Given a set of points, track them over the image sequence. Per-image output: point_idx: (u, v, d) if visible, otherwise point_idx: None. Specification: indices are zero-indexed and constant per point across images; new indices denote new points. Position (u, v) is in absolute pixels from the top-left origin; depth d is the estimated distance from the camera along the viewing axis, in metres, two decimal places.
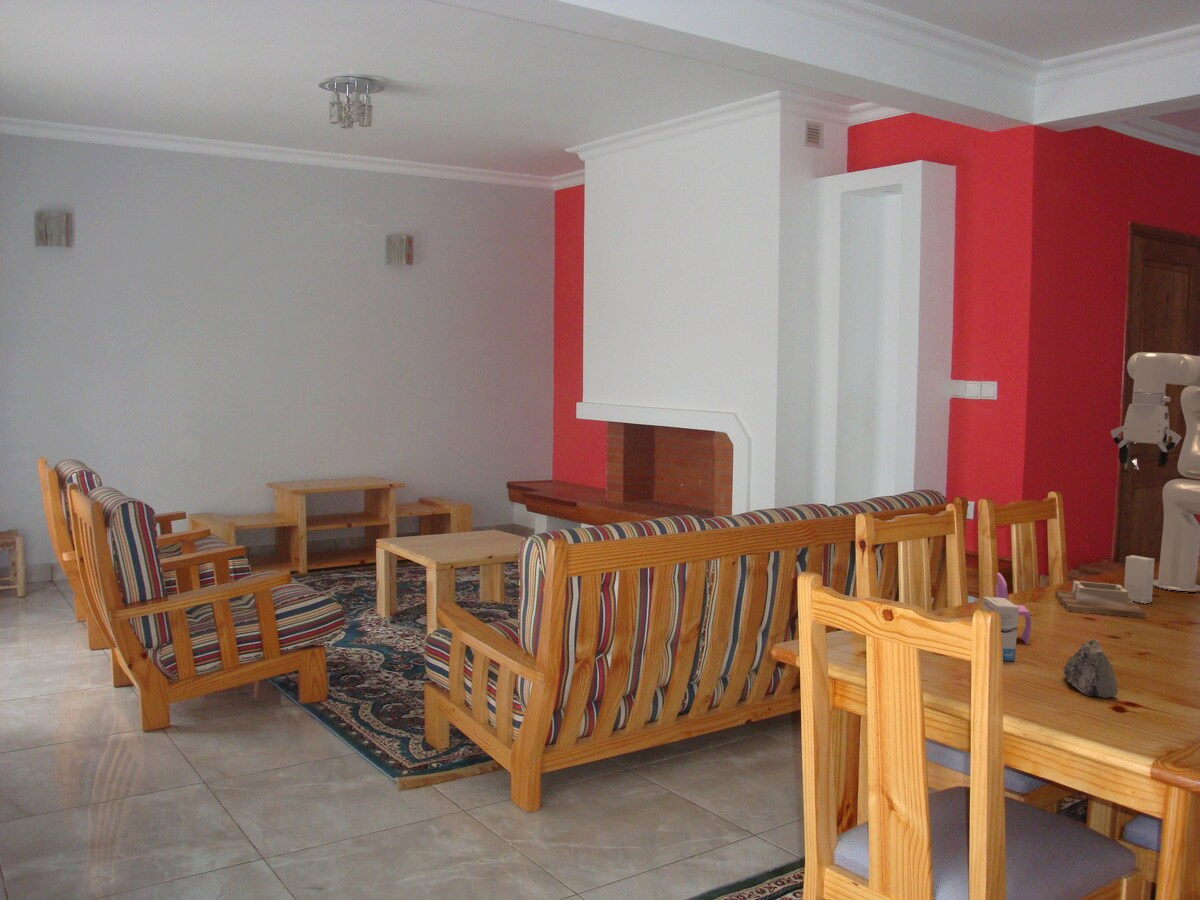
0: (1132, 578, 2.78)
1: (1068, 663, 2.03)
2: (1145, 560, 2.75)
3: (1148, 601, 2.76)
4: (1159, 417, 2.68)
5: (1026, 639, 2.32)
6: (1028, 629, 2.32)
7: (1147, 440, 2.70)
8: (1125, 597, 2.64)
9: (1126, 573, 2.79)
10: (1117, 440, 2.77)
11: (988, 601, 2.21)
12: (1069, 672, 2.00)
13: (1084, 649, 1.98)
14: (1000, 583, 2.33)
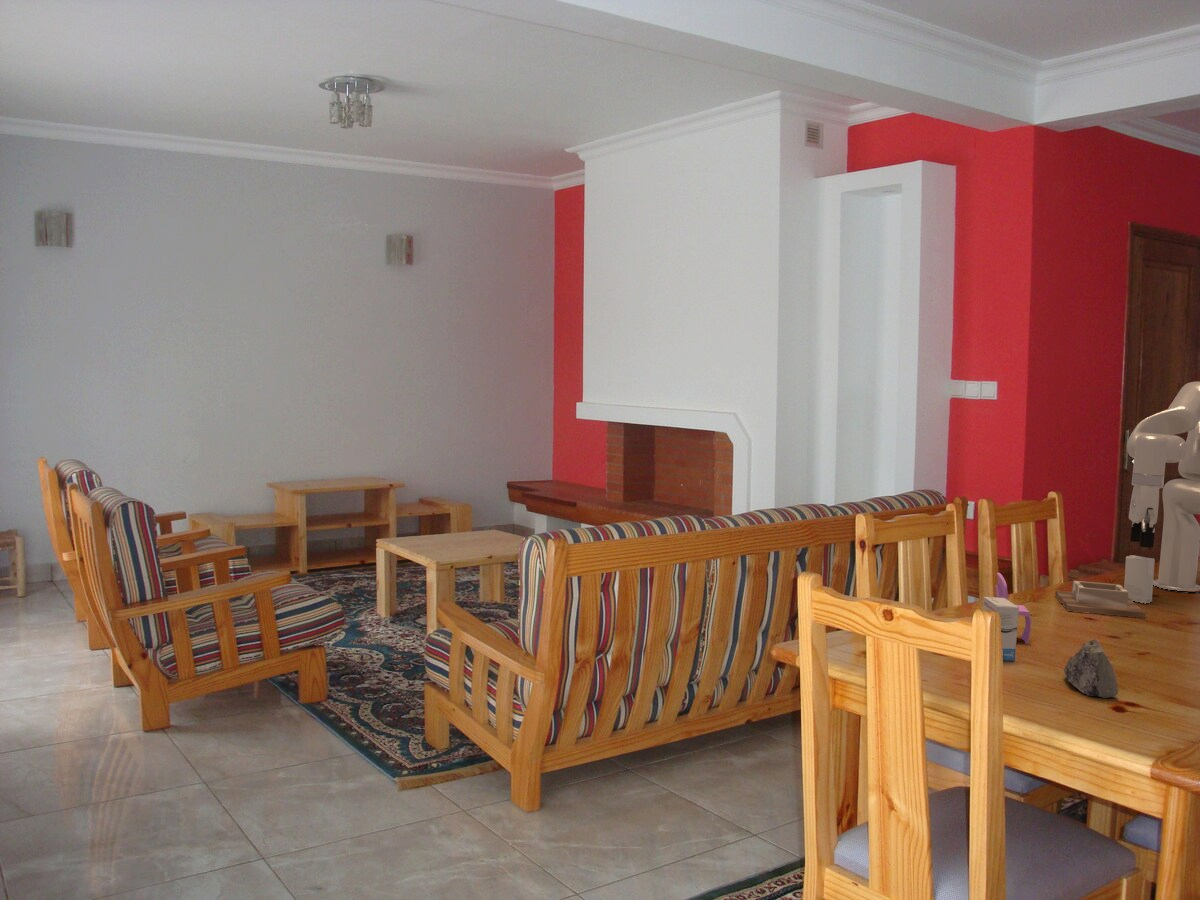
0: (1132, 578, 2.78)
1: (1069, 663, 2.03)
2: (1145, 560, 2.75)
3: (1148, 601, 2.76)
4: None
5: (1026, 639, 2.32)
6: (1028, 629, 2.32)
7: None
8: (1125, 597, 2.64)
9: (1126, 573, 2.79)
10: None
11: (988, 601, 2.21)
12: (1070, 672, 2.00)
13: (1085, 649, 1.98)
14: (1000, 583, 2.33)
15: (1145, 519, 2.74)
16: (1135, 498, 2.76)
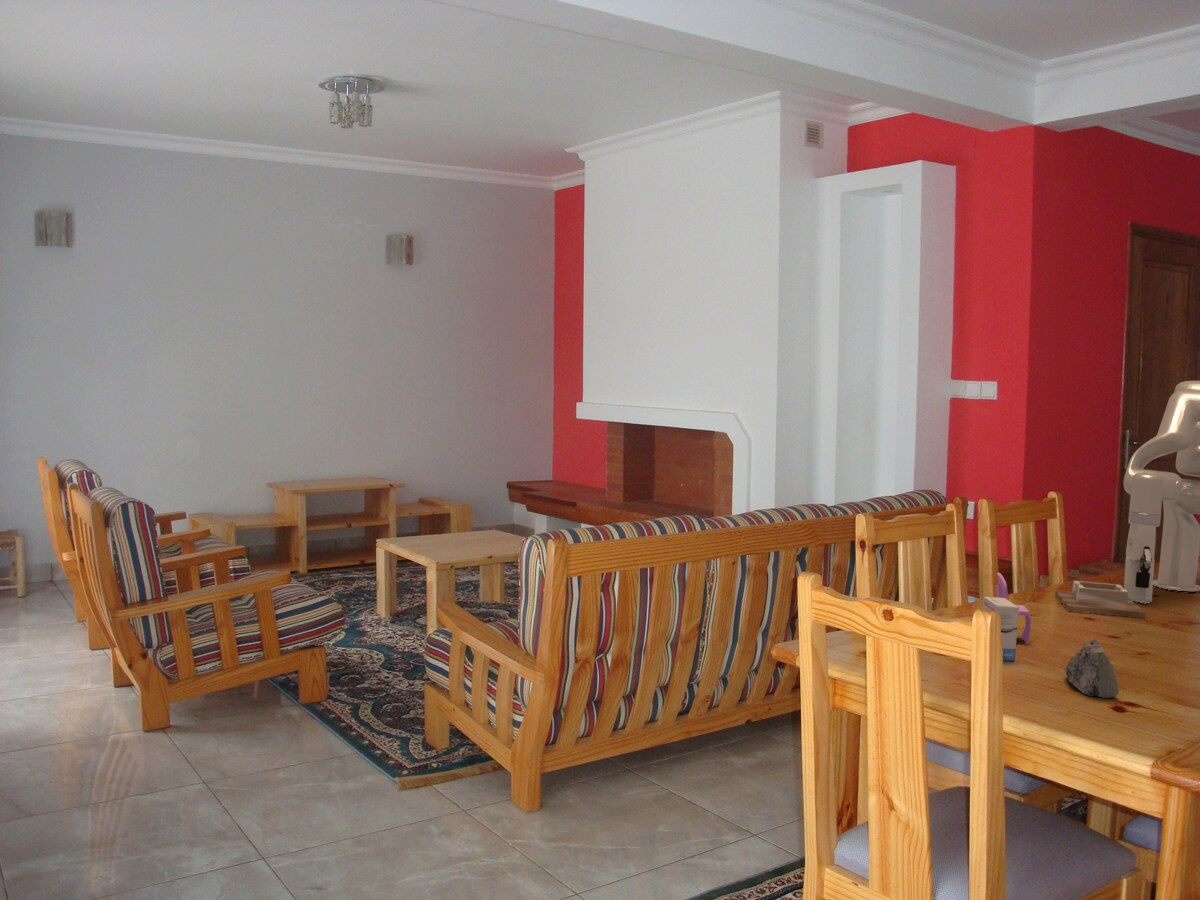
0: (1132, 578, 2.78)
1: (1069, 663, 2.03)
2: None
3: (1148, 601, 2.76)
4: None
5: (1026, 639, 2.32)
6: (1028, 629, 2.32)
7: None
8: (1125, 597, 2.64)
9: (1126, 573, 2.79)
10: None
11: (988, 601, 2.21)
12: (1070, 672, 2.00)
13: (1085, 649, 1.98)
14: (1000, 583, 2.33)
15: (1141, 558, 2.75)
16: (1132, 536, 2.77)
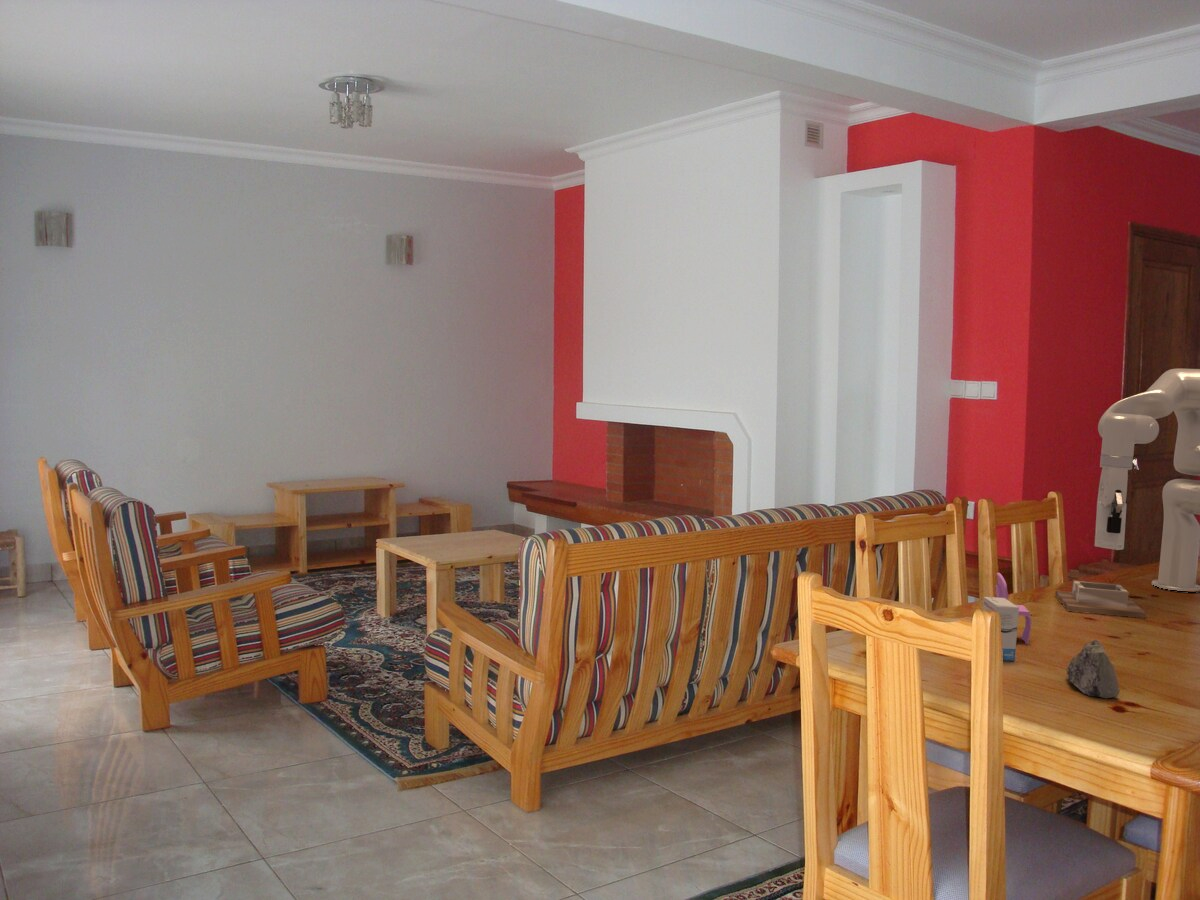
0: (1104, 524, 2.68)
1: (1071, 663, 2.03)
2: None
3: (1120, 547, 2.67)
4: None
5: (1026, 639, 2.32)
6: (1028, 629, 2.32)
7: None
8: (1125, 597, 2.64)
9: (1097, 519, 2.70)
10: None
11: (988, 601, 2.21)
12: (1071, 672, 2.00)
13: (1086, 649, 1.98)
14: (1000, 583, 2.33)
15: (1113, 502, 2.66)
16: (1103, 480, 2.68)
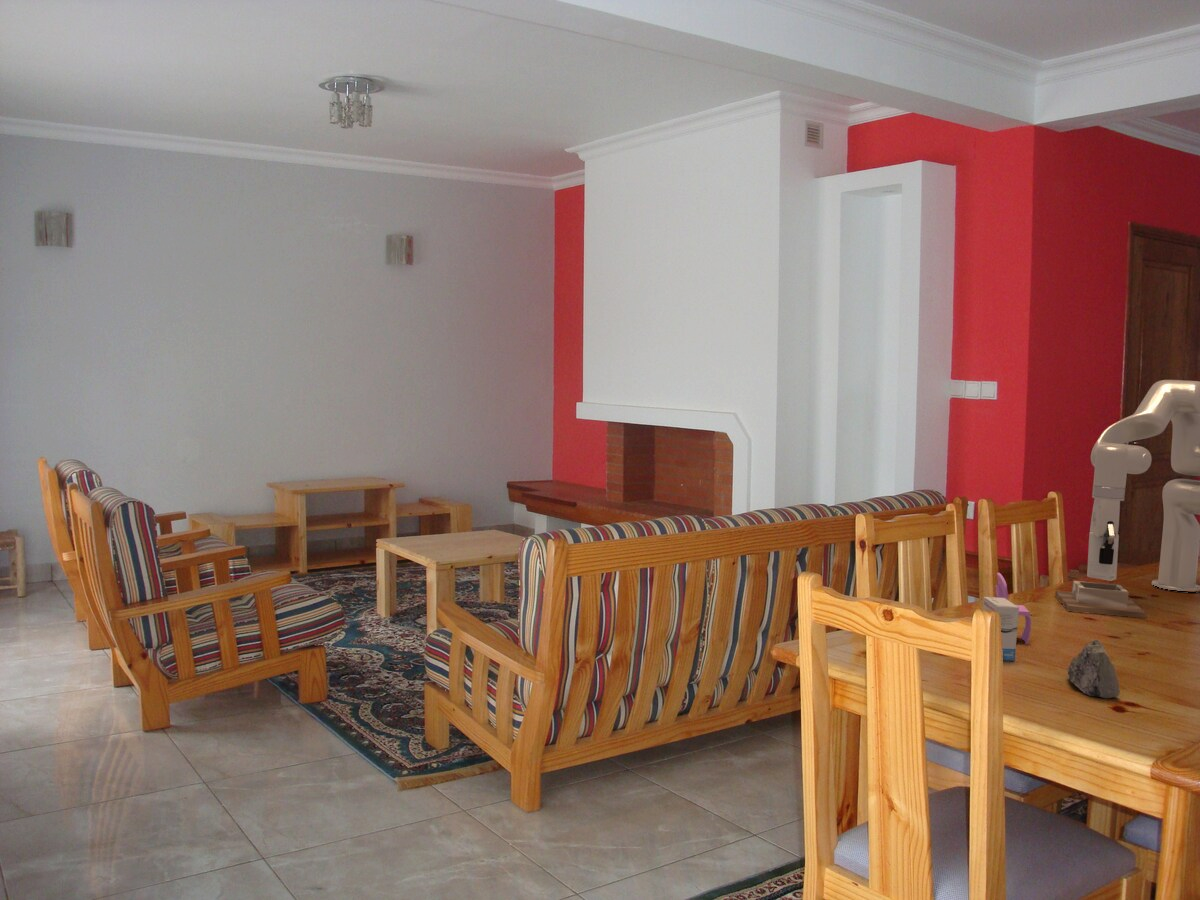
0: (1096, 555, 2.68)
1: (1071, 663, 2.03)
2: None
3: (1112, 578, 2.67)
4: None
5: (1026, 639, 2.32)
6: (1028, 629, 2.32)
7: None
8: (1125, 597, 2.64)
9: (1090, 549, 2.69)
10: None
11: (988, 601, 2.21)
12: (1072, 672, 2.00)
13: (1087, 649, 1.98)
14: (1000, 583, 2.33)
15: (1105, 533, 2.66)
16: (1096, 511, 2.68)
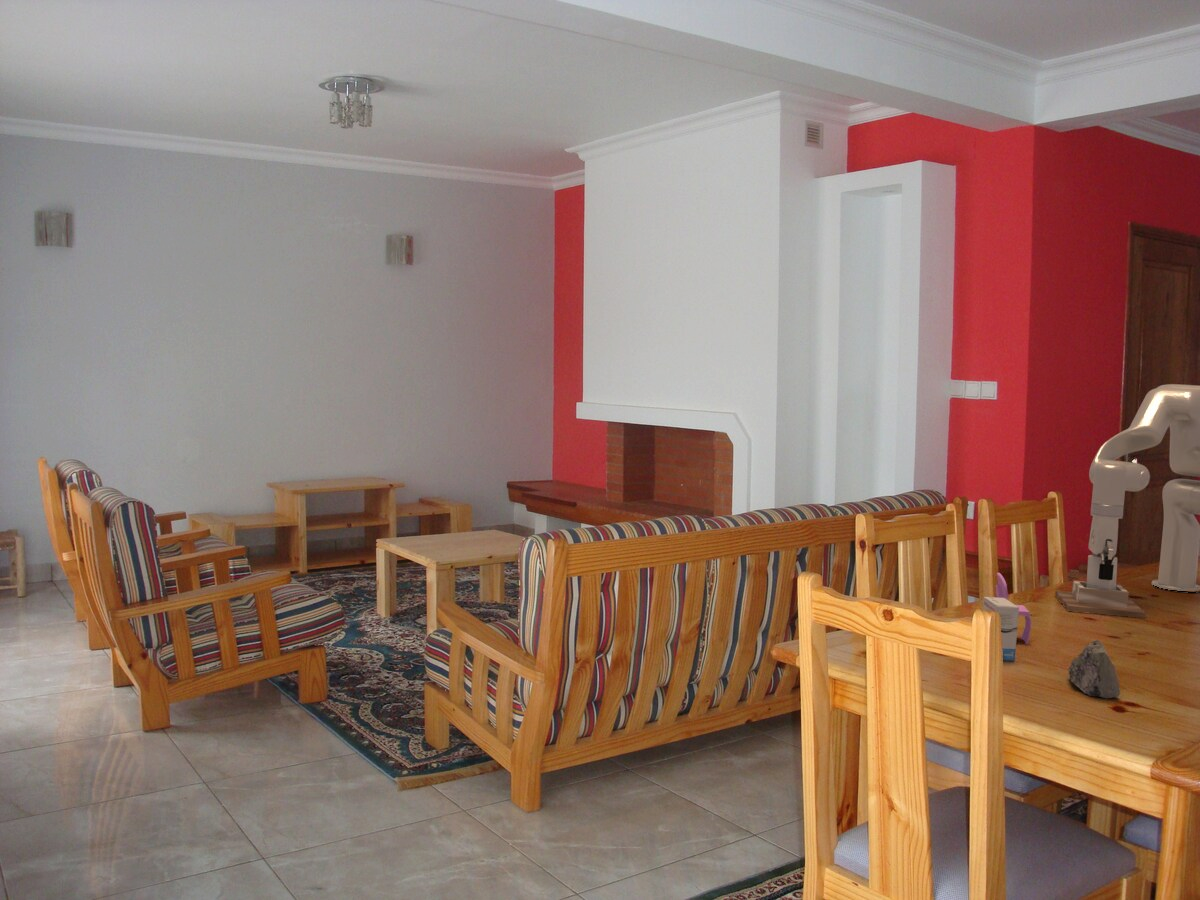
0: (1095, 578, 2.69)
1: (1072, 663, 2.03)
2: None
3: None
4: None
5: (1026, 639, 2.32)
6: (1028, 629, 2.32)
7: None
8: (1125, 597, 2.64)
9: (1088, 572, 2.70)
10: None
11: (988, 601, 2.21)
12: (1072, 672, 2.00)
13: (1088, 649, 1.98)
14: (1000, 583, 2.33)
15: (1104, 550, 2.66)
16: (1094, 529, 2.68)
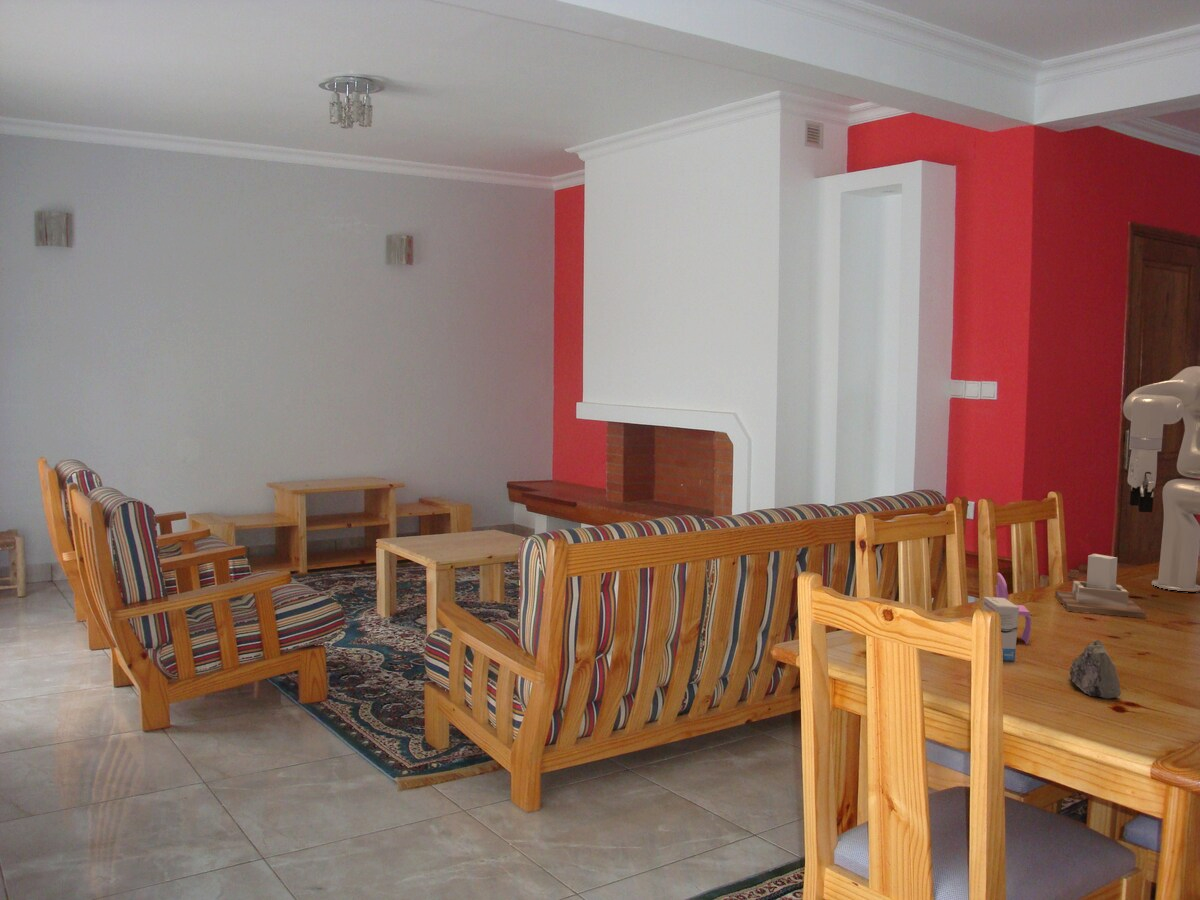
0: (1095, 578, 2.69)
1: (1073, 663, 2.03)
2: (1108, 559, 2.66)
3: None
4: None
5: (1026, 639, 2.32)
6: (1028, 629, 2.32)
7: None
8: (1125, 597, 2.64)
9: (1088, 572, 2.70)
10: None
11: (988, 601, 2.21)
12: (1073, 672, 2.00)
13: (1088, 649, 1.98)
14: (1000, 583, 2.33)
15: (1143, 483, 2.69)
16: (1133, 462, 2.71)
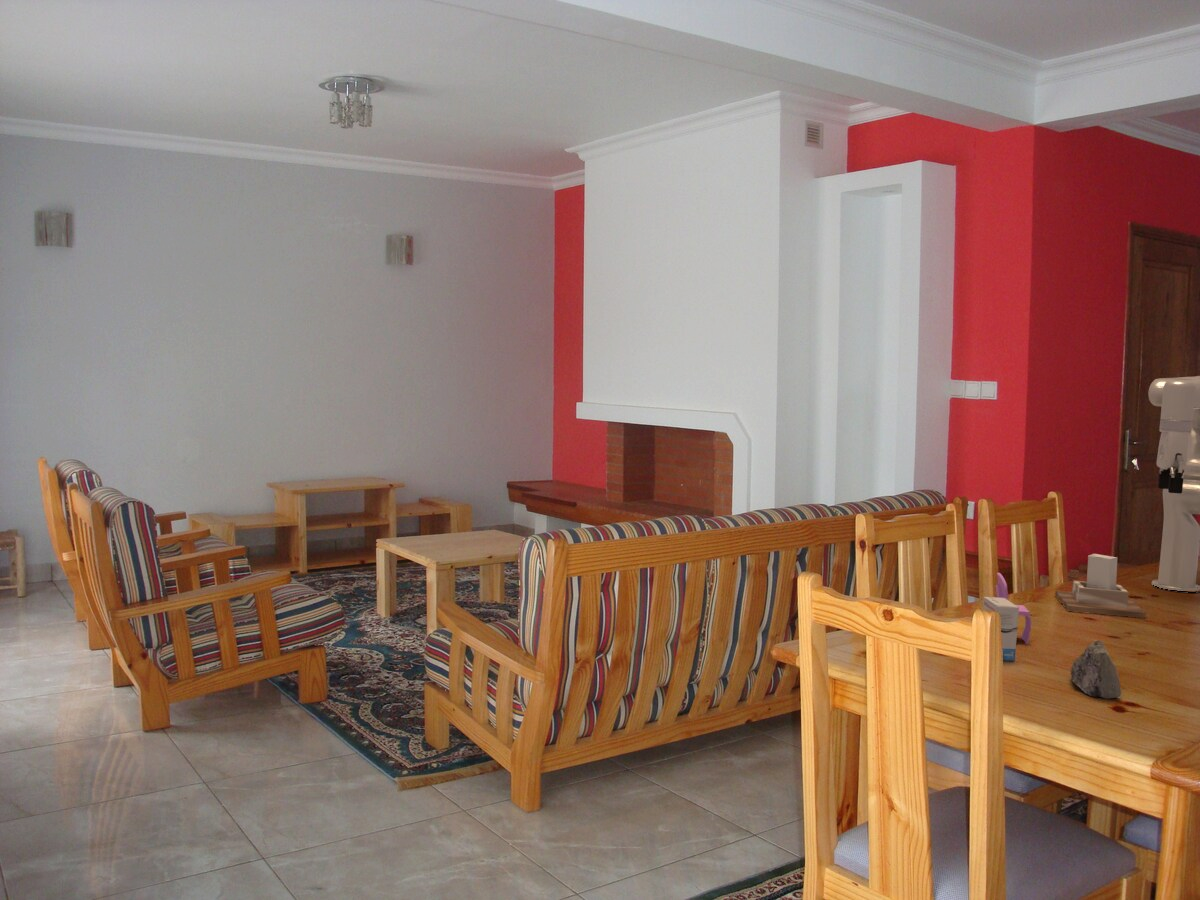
0: (1095, 578, 2.69)
1: (1074, 663, 2.03)
2: (1108, 559, 2.66)
3: None
4: None
5: (1026, 639, 2.32)
6: (1028, 629, 2.32)
7: None
8: (1125, 597, 2.64)
9: (1088, 572, 2.70)
10: None
11: (988, 601, 2.21)
12: (1074, 672, 2.00)
13: (1089, 649, 1.98)
14: (1000, 583, 2.33)
15: (1174, 465, 2.73)
16: (1163, 444, 2.75)
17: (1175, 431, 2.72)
